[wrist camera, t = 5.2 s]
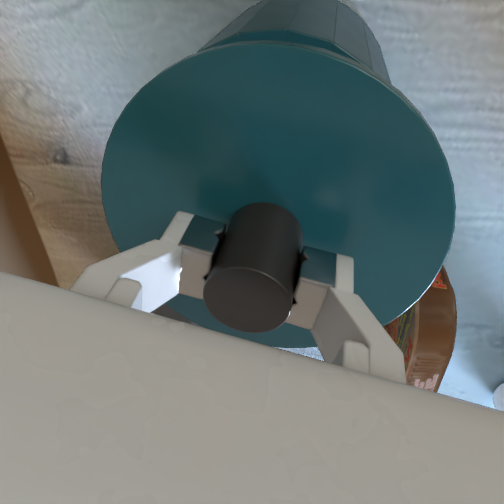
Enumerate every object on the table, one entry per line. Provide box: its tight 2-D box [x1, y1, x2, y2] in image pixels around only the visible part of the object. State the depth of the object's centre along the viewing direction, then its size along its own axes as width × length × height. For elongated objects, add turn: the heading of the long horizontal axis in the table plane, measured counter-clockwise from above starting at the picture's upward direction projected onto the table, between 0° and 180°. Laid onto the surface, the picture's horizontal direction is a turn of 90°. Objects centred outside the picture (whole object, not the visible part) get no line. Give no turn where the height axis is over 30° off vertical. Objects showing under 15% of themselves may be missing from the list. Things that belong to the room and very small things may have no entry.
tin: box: [382, 266, 457, 393], centre depth 31 cm, size 15×3×8 cm, turn 1°
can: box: [197, 0, 391, 84], centre depth 21 cm, size 10×10×11 cm
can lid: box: [101, 40, 456, 348], centre depth 13 cm, size 11×11×4 cm
